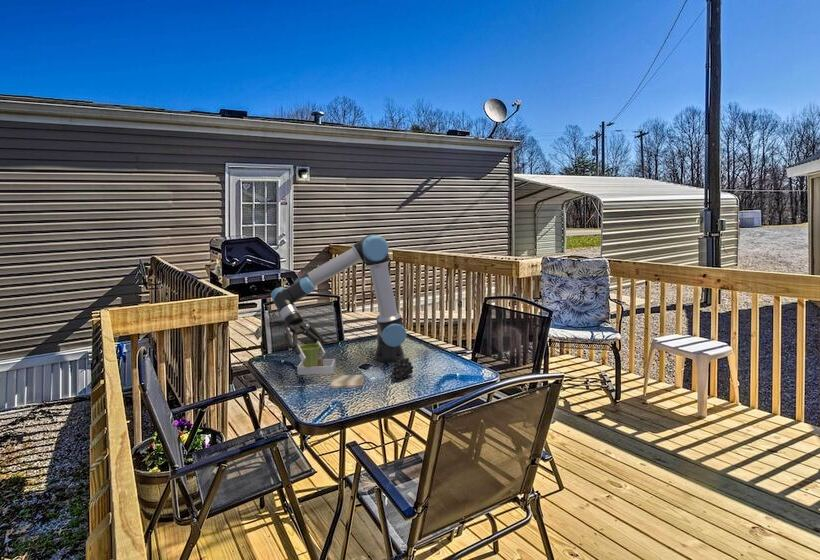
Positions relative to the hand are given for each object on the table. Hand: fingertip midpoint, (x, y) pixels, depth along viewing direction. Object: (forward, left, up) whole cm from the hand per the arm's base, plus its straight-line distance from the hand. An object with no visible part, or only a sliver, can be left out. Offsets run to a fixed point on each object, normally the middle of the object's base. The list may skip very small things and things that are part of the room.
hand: (314, 356), depth 213 cm
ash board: (-14, -2, -13) cm, 19 cm away
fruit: (-37, -6, -13) cm, 40 cm away
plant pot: (+2, -2, -5) cm, 6 cm away
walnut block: (+2, -18, -12) cm, 21 cm away
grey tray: (+2, -18, -13) cm, 22 cm away
